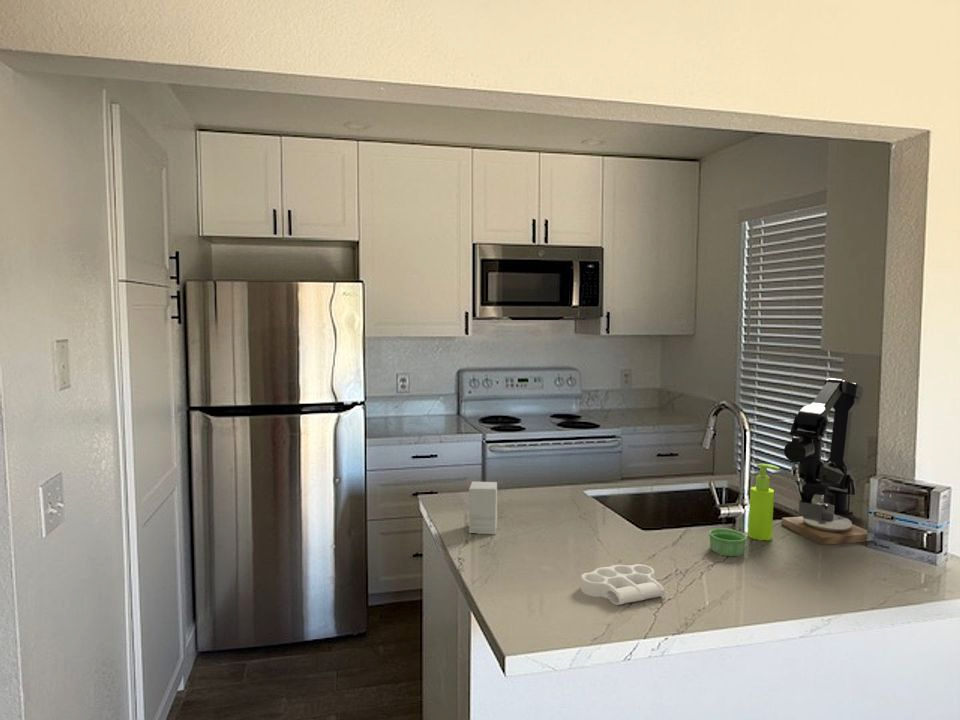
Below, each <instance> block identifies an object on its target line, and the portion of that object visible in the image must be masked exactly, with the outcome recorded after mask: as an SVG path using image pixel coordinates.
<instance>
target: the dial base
mask: <svg viewBox="0 0 960 720" xmlns="http://www.w3.org/2000/svg"><path fill="white" fill-rule="evenodd" d="M802 520H803V516H787V517H781V525H782V526H784V527H785V526H786V527H785V528H787V527H788V529H789V530H791V531H794V532H795V533H798V534H800V535H802V536H803V537H806V538H807V539H809V540H811V541H813V542H815V543H817V544H819V545H822V546H825V545H827V546H828V545H838V544H839V545H841V544H850V543H851V544H852V543H862V542H864V543H865V541H866V539H867V531H868V530H867V529H865V528H861V527H860V526H857V525H855V524H853V523H852V527H851V530H849V531H846V532H831V531H824V530H819V529H815V528H812V527H809V526H807V525H805V524H804V523H803V521H802ZM866 542H867V541H866Z"/></svg>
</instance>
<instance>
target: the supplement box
mask: <svg viewBox="0 0 960 720" xmlns="http://www.w3.org/2000/svg"><path fill="white" fill-rule="evenodd" d="M468 488H469V489H468V498H469V499H468V515H469V516H468V518H469V519H468V520H469V521H468V529H469V530H468V532H469V534H470V533H477V534H476V535H479V534H480V535H496V533H497V527H498V482H497V481H473V480H471V484H470V485H469V487H468Z"/></svg>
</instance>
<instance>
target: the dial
mask: <svg viewBox="0 0 960 720" xmlns="http://www.w3.org/2000/svg"><path fill="white" fill-rule="evenodd" d="M798 503H799V504H798V517H801V516H803V520H802V521H803V523H804V524H805V525H807V526H809V527H812V528H815V529H819V530H824V531H831V532H846V531H849V530H851V527H852V524H853V523H852V520H850V519H849V518H847V517H844V516H842V515H840V514H834V505H832V504H828V503H824V502H815V501H811V502H810V501H803V500H801V499H800V500H799V502H798Z"/></svg>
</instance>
